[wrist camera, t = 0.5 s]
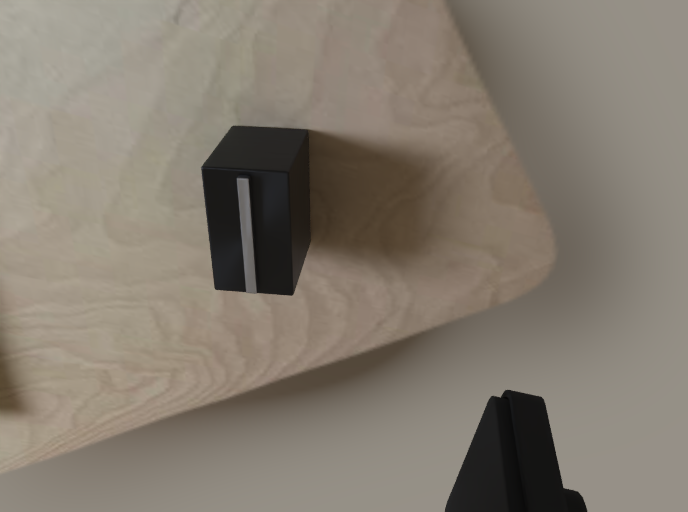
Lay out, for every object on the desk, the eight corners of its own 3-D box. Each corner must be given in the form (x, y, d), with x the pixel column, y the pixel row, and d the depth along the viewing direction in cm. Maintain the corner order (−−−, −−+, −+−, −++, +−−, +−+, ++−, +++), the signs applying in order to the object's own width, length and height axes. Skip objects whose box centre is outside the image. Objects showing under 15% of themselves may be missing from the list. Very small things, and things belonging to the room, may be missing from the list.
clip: (231, 125, 25) (197, 170, 22) (308, 128, 25) (287, 175, 21) (241, 237, 28) (212, 294, 24) (310, 242, 28) (291, 301, 24)
